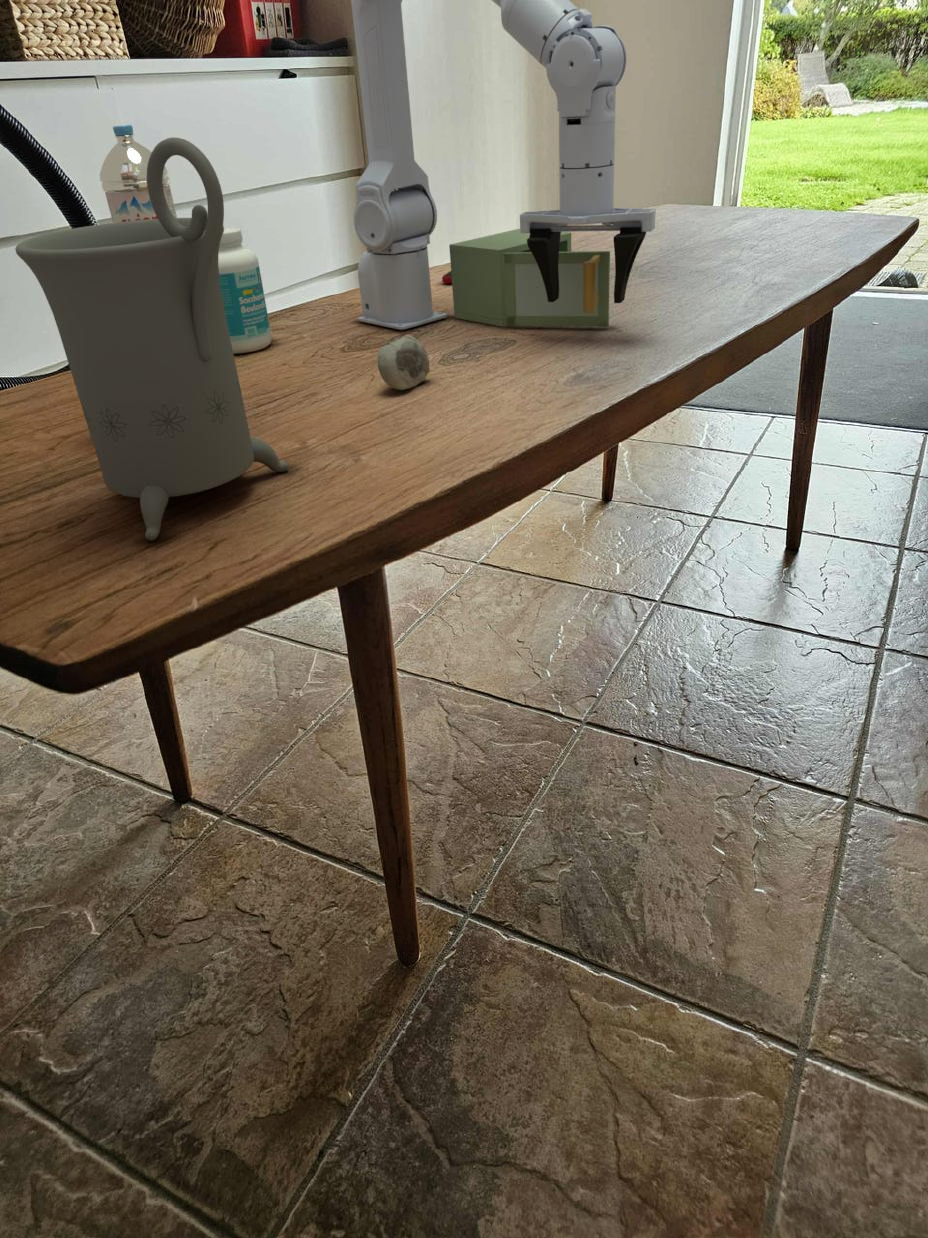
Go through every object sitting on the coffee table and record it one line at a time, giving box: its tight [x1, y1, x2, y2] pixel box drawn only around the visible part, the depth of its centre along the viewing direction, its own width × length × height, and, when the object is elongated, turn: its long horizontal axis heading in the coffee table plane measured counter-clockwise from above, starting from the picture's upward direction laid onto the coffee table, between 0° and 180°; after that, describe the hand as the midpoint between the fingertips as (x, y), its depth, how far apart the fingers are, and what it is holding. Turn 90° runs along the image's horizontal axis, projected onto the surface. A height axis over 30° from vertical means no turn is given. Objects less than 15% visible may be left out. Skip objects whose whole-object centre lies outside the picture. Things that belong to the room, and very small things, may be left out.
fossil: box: [377, 334, 430, 391], centre depth 89 cm, size 6×3×5 cm, turn 152°
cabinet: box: [448, 228, 572, 328], centre depth 112 cm, size 13×9×9 cm
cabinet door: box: [504, 250, 611, 328], centre depth 102 cm, size 13×5×8 cm, turn 72°
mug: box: [14, 137, 289, 542], centre depth 63 cm, size 19×15×25 cm
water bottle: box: [99, 124, 178, 223], centre depth 94 cm, size 7×7×25 cm
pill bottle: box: [218, 227, 273, 355], centre depth 105 cm, size 8×7×14 cm
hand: (585, 300), depth 98 cm, fingers open, 7 cm apart
